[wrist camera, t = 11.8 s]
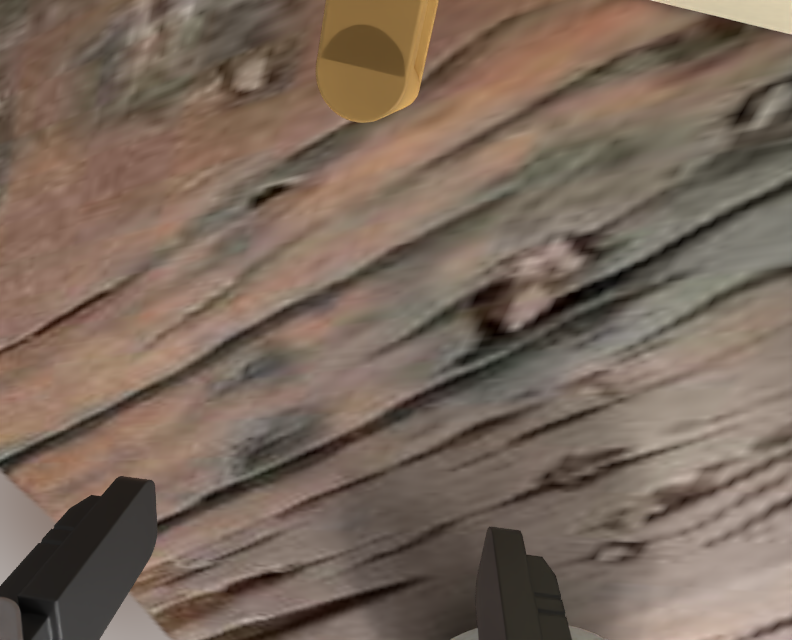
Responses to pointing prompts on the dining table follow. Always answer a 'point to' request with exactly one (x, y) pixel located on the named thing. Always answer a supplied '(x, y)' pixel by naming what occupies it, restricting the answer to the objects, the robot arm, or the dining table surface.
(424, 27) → the cupboard door
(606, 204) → the dining table surface
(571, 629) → the cereal bowl
